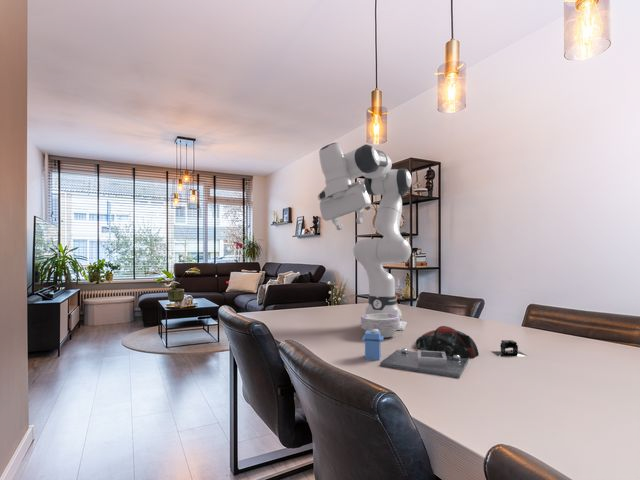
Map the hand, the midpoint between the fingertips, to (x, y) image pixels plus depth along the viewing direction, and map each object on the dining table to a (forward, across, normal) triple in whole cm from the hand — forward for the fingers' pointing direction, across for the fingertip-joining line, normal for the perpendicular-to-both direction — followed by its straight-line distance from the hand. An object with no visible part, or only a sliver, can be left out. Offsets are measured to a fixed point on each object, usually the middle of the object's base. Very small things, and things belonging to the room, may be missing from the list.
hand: (350, 226), depth 131 cm
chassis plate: (+46, -19, +6) cm, 50 cm away
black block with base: (+54, -33, -22) cm, 67 cm away
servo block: (+43, -4, +11) cm, 44 cm away
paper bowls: (+44, +12, -16) cm, 48 cm away
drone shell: (+49, -16, -14) cm, 53 cm away
